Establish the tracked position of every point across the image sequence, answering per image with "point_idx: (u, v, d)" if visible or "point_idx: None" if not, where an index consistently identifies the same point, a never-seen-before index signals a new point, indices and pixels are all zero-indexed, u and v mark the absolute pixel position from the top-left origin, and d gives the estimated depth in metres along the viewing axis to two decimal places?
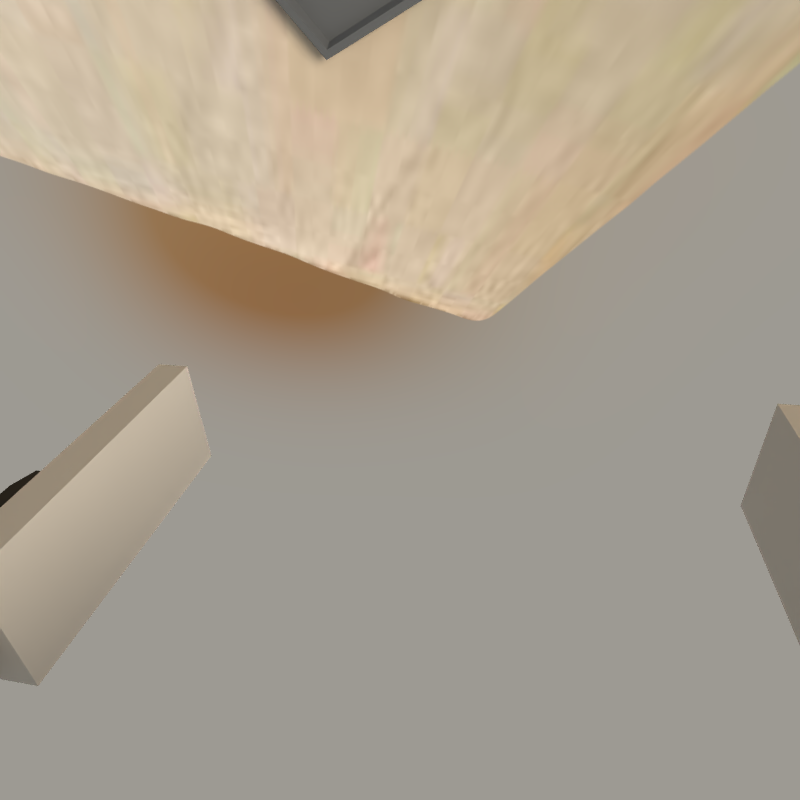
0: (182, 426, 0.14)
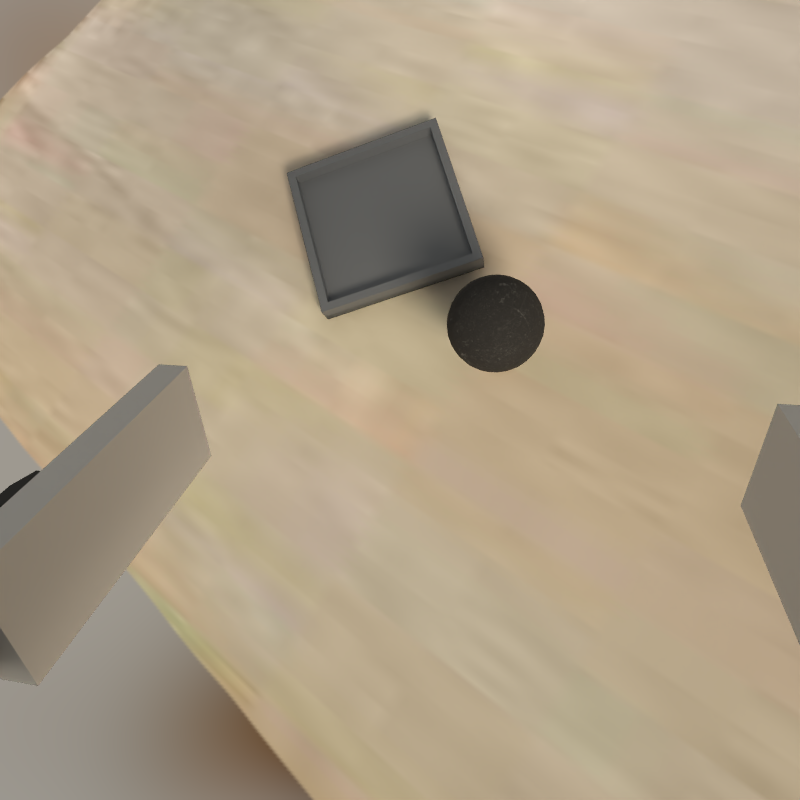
0: (182, 426, 0.14)
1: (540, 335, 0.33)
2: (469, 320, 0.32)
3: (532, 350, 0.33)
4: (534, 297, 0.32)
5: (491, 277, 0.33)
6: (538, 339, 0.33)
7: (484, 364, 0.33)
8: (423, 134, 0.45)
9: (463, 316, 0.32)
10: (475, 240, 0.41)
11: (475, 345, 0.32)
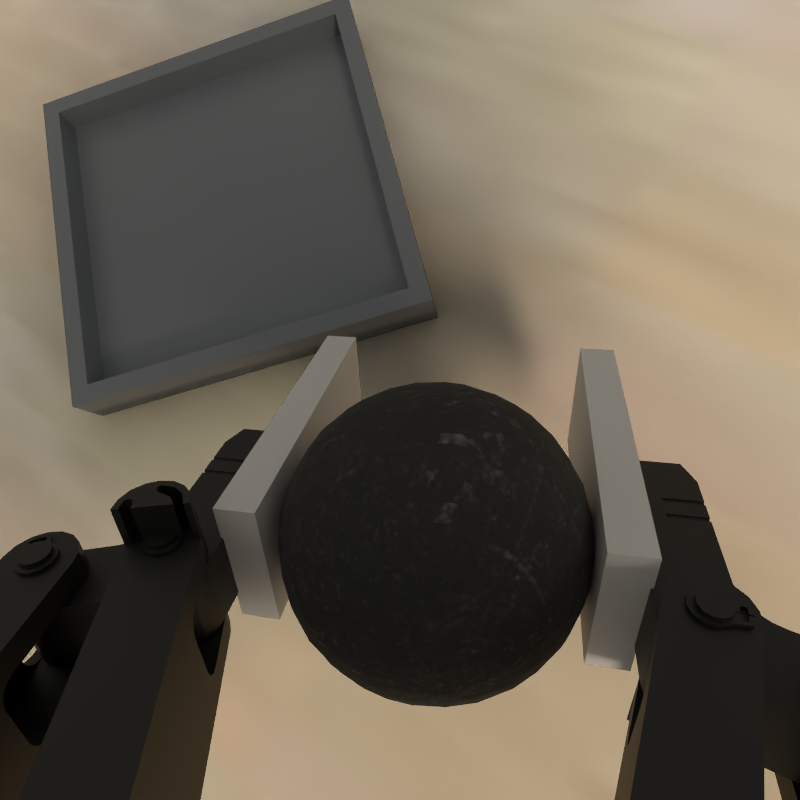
0: (351, 393, 0.15)
1: (582, 607, 0.09)
2: (324, 573, 0.08)
3: (552, 655, 0.10)
4: (566, 480, 0.09)
5: (418, 401, 0.09)
6: (575, 621, 0.09)
7: (387, 696, 0.10)
8: (323, 31, 0.21)
9: (308, 548, 0.09)
10: (416, 258, 0.18)
11: (347, 658, 0.09)
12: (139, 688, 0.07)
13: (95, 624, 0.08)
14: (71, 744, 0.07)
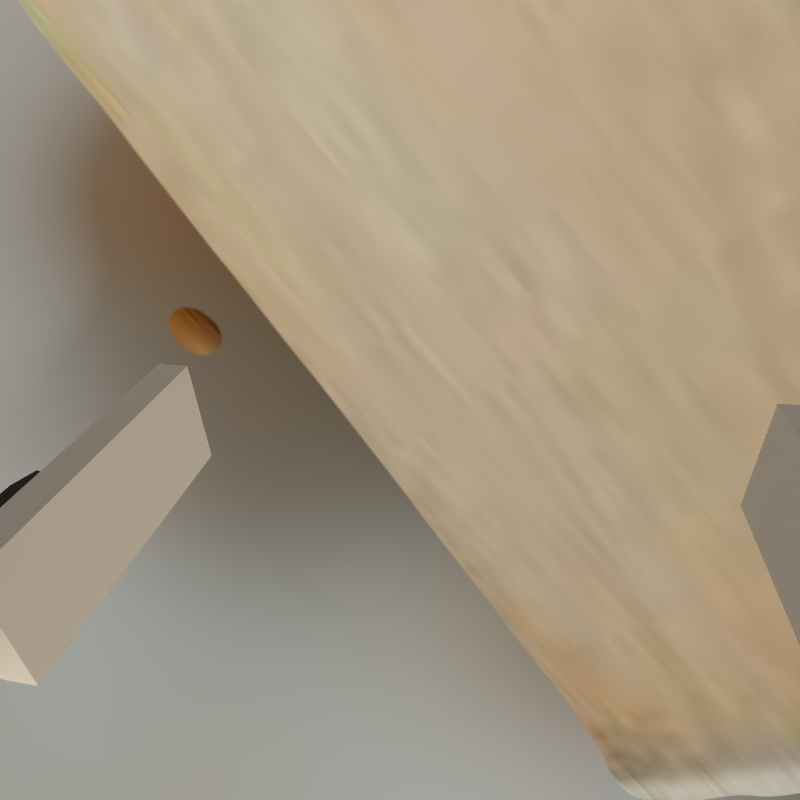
0: (182, 426, 0.14)
1: None
2: None
3: None
4: None
5: None
6: None
7: None
8: None
9: None
10: None
11: None
12: None
13: None
14: None
